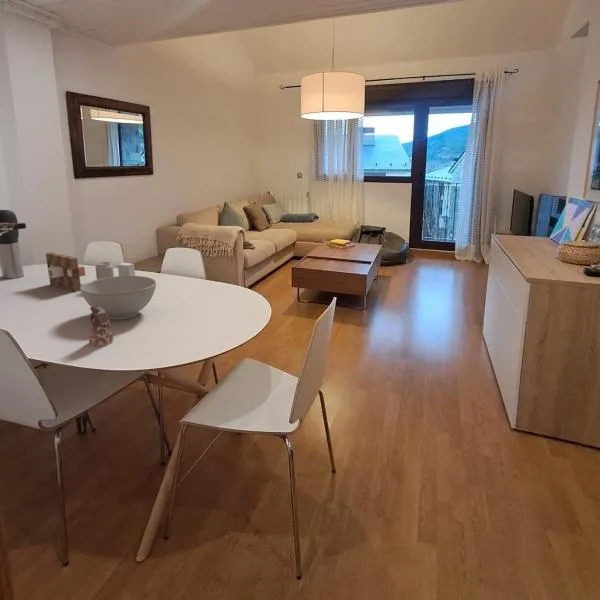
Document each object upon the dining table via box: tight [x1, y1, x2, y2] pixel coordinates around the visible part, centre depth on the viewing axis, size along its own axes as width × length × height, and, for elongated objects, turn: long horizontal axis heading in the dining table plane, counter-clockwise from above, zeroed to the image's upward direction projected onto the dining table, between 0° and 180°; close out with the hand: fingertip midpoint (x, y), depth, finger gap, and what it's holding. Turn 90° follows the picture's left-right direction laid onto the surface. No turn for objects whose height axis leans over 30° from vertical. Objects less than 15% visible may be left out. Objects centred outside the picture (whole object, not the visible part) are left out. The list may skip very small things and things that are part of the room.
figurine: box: [88, 306, 115, 347], centre depth 146 cm, size 7×7×12 cm
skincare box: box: [117, 262, 136, 276], centre depth 207 cm, size 6×4×12 cm
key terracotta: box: [67, 265, 86, 278], centre depth 206 cm, size 4×6×4 cm, turn 147°
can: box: [95, 261, 115, 280], centre depth 209 cm, size 8×8×12 cm
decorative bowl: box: [79, 275, 157, 320], centre depth 173 cm, size 27×27×12 cm
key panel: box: [45, 252, 83, 292], centre depth 210 cm, size 21×6×15 cm, turn 57°
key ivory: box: [47, 266, 64, 278], centre depth 206 cm, size 4×6×4 cm, turn 147°
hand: (24, 225), depth 191 cm, fingers closed
